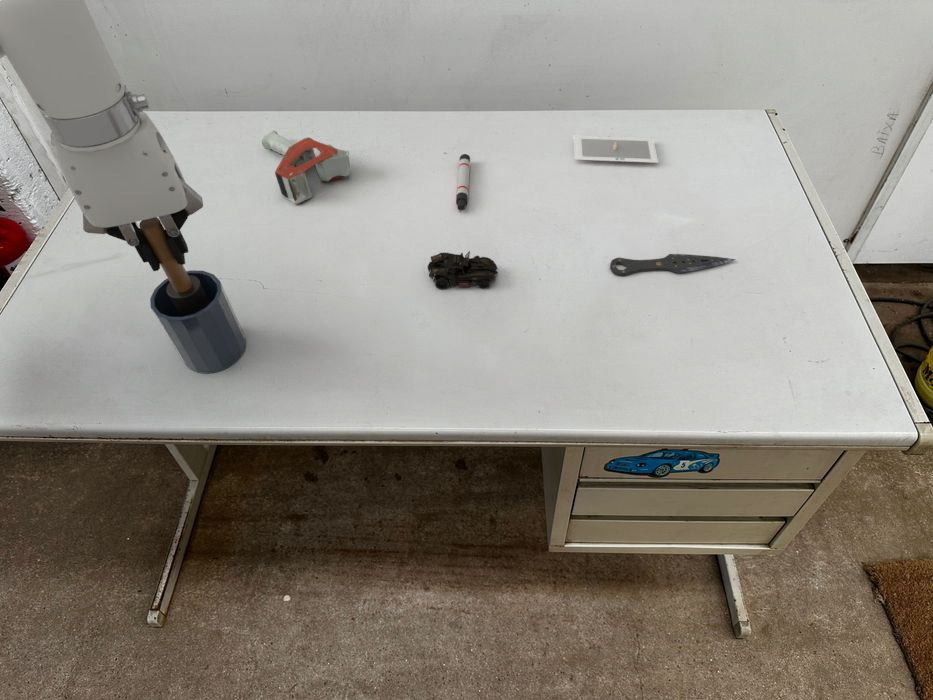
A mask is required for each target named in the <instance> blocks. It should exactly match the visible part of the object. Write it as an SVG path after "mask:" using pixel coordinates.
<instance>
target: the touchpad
mask: <svg viewBox="0 0 933 700" xmlns="http://www.w3.org/2000/svg"><path fill="white" fill-rule="evenodd" d="M572 136H573V153H574V160H575V161H576V160H578V161H598V162H599V161H601V162H603V161H604V162H629V163H630V162H631V163H652V164H653V163H654V164H655V163H656V164H657V163H659V159H658V156H657V151H656V145H655V142H654V138H653V137H633V136H632V137H631V136H630V137H629V136H628V137H627V136H602V135H576V134H575V135H574V134H573V135H572Z"/></svg>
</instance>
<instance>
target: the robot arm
mask: <svg viewBox="0 0 933 700" xmlns="http://www.w3.org/2000/svg"><path fill="white" fill-rule="evenodd" d="M5 56H6V58H7V59H8V62H9V63H10V65H11V67H12V68H13V69H14V71H15V73H16V74H17V76H18V77H19V79H20V82H21V83H22V85H23V86H24V88H25V89H26V91H27V93H28V95H29V96H30V98H31V99H32V101H33V103H34V105H35V106H36V107H37V110H38V111H39V113H40V114H41V116H42V117H43V119H44V121H45V122H46V124H47V126H48V128H49V129H50V131H51V133H50V143H51V146H52V149H53V152H54V155H55V158H56V161H57V164H58V166H59V168H60V170H61V172H62V175H63V177H64V179H65V181H66V183H67V186H68V188H69V190H70V192H71V194H72V196H73V198H74V200H75V202H76V203H77V205H78V207H79V209H80V210H81V212H82V228H83V231H84V233H87V234H97V235H108V236H110V237H113V238H116V239H119V240H122V241H125V242H126V244H127V245H128V246H130V247H134V249H135V251H136V252H137V254H138V256H139V257H140V259H141V261H142V262H143V263H144V264H145V263H148V265H149V266H150V268H151V269H152V271H153V272H158V271H159V270H160V269H161V265H160V263H159V261H158V259H157V257H156V256H155V254H154V252H153V250H152V248H151V247H150V245H149V243H148V241H147V239H146V238H145V236H144V234H143V232H142V230H141V228H140V227H139V224H138V222H141V221H142V220H146V219H150V218H155V217H157V218H159V220H160V221H161V223H162V225H163V227H164V229H165V233H166V242H167V244H168V246H169V248H170V249H171V251H172V253H173V255H174V257H175V259H176V261H177V263H178V264H180V265H183V266H184V265H186V257H185V254H188V253H189V247H188V244H187V242H186V240H185V238H184V235H183V233H182V232H181V229H182V228H183V226H184V225H185V223H186V221H188V218H189V216H192V215H194V214H195V213H196V212H198V211H200V210H201V209H202V208H204V201H203V197H202V196H201V194H199V192H197V191H196V190H194V188H193V187H192V186H190V185H189V184H188V183H187V182H186V181H185V177H184V175H183V173H182V171H181V169H180V166H179V164H178V162H177V161H176V159H175V157H174V156H173V153H172V152H171V150H170V147H169V146H168V144H167V143H166V141H165V139H164V137H163V135H162V133H160V131H159V129H158V128H157V127H156V125H155V124H154V122H153V121H152V119H151V118H150V116H149V115H148V114H147V113H146V112H144V110H149V109H151V104H150V101H149V99H148V96H147V95H146V94H145V93H142V94H137V93H134V94H133V93H132V91H130V90H128V87H127V84H124V83H123V80H122V78H121V76H120V74H119V72H118V70H117V68H116V66H115V63H114V61H113V58H112V57H111V54H110V52H109V50H108V48H107V46H106V44H105V43H104V40H103V38H102V35H101V34H100V31H99V29H98V27H97V25H96V23H95V20H94V18H93V16H92V14H91V12H90V10H89V8H88V6H87V4H86V1H85V0H0V60H1V59H3V57H5Z"/></svg>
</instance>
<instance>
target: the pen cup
mask: <svg viewBox="0 0 933 700" xmlns="http://www.w3.org/2000/svg"><path fill="white" fill-rule="evenodd" d="M186 272H187V274H188V275H191V276H195V277H197V278H198V279H199V281H200V283H201V285H202V287H203V289H204V291H205V293H206V295H207V297H208V299H209V301H210V304H209V305H208V306H207V307H206V308H204V309H203V310H201V311H199V312H197V313H195V314H192V315H188V316H184V317H181V316H180V315H179V313H178V311H177V309H176V308H175V306H174V304H173V302H172V301H171V299H170V297H169V295H168V294H167V286H168V285H169V283H170V281H169V279H168V277H166V279H163V280H162V282H161V283H159V284H158V285H157V286H156V287H155V288H154V290H153V292H152V293H151V295H150V297H149V301H150V302H149V303H150V310H151V311H152V313H153V314H154V316H155V318H156V319H157V321H158V322H159V324H160V325H161V327H162V329H163V331H164V332H165V334H166V336H167V337H168V339H169V341H170V342H171V345H173V347H174V349H175V350H176V352H177V354H178V356H179V357H180V359H181V361H182V362H183V363H184V364H185V366H186V367H187V368H189V369H190V370H191V371H193V372H195V373H198V374H214V373H218V372H222V371H224V370H226V369H229V368H230V367H232V366H233V365H235V364H236V363H238V361H239V360H240V359H241V357H243V355H244V353H245V352H246V351H245V350H246V347H247V339H246V335H245V333H244V331H243V329H242V326H241V324H240V321H239V320H238V317H237V315H236V313H235V311H234V308H233V306H232V303H231V302H230V300H229V298H228V295H227V293H226V291H225V288H224V286H223V284H222V282H221V280H220V279H219V278H218V277H217V276H216V274H213V273H211V272H208V271H206V270H196V269H195V270H194V269H191V270H186Z"/></svg>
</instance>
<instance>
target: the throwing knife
mask: <svg viewBox="0 0 933 700" xmlns="http://www.w3.org/2000/svg"><path fill="white" fill-rule="evenodd" d="M733 261H737V259H736V258H729V257H721V256H712V255H701V254H685V253H684V254H683V253H669V254H667V255H666V256H664V257H659V258H652V259H651V258H649V259H632V258H624V257H616V258H613V259H611V261H610V265H609V269H610V271H611V272H612V274H614V275H616V276H619V277H625V276H628V275H631V274H635V273H640V272H647V271H670V272H674V273H676V274H682V273H688V272H693V271H698V270H703V269H707V268H712V267H715V266H720V265H723V264H727V263H730V262H733ZM619 264H620V265H622V266H624V267H625V268H624V269H619V268H618V267H617V265H619Z"/></svg>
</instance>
